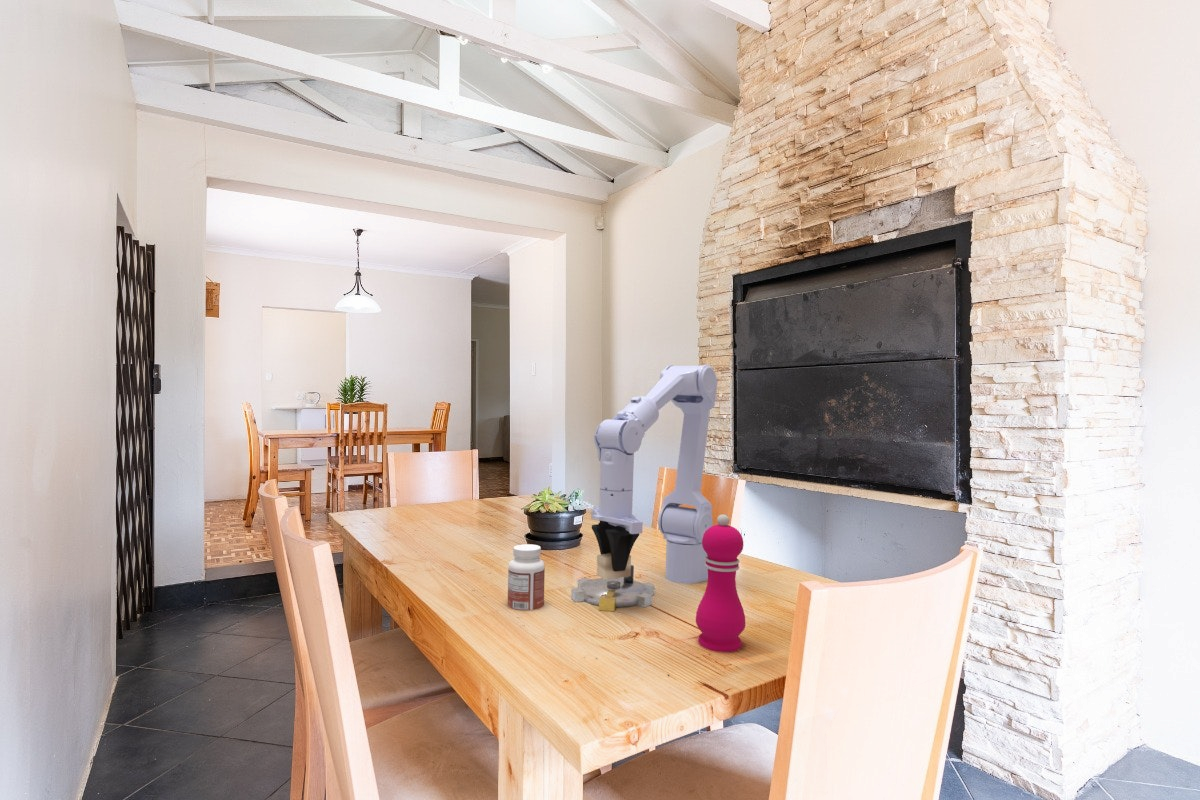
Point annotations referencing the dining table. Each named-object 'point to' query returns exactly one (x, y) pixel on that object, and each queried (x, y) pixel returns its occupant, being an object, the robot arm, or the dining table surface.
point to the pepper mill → (721, 589)
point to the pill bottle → (526, 578)
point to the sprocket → (613, 592)
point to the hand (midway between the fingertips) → (613, 568)
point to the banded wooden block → (606, 567)
